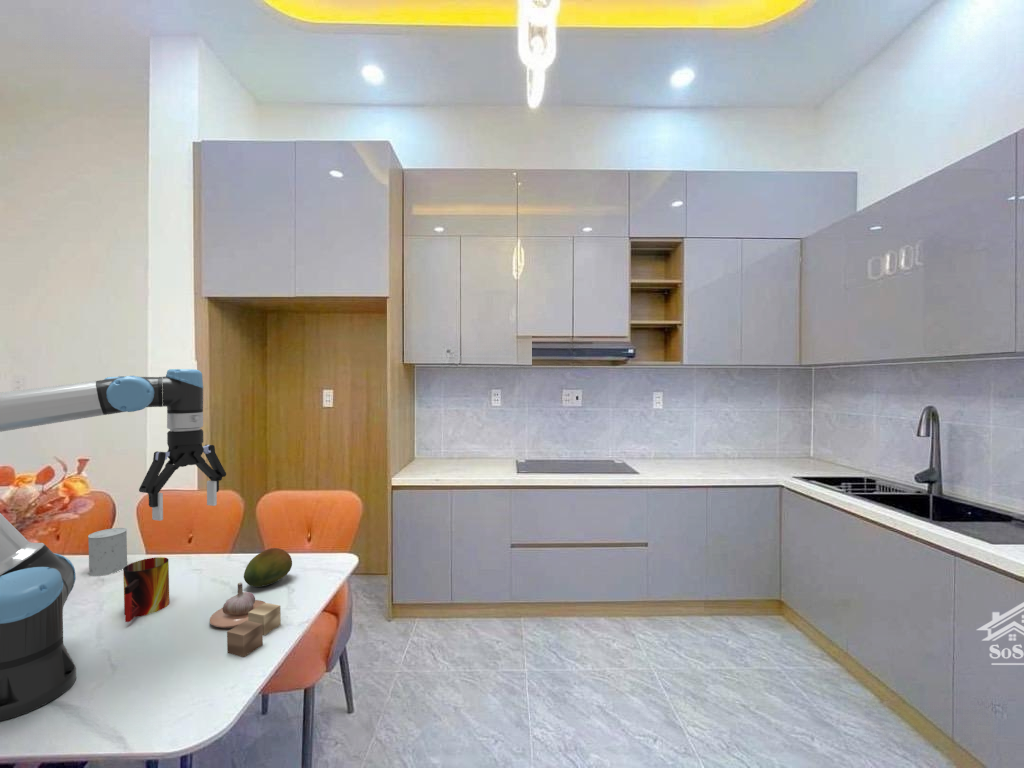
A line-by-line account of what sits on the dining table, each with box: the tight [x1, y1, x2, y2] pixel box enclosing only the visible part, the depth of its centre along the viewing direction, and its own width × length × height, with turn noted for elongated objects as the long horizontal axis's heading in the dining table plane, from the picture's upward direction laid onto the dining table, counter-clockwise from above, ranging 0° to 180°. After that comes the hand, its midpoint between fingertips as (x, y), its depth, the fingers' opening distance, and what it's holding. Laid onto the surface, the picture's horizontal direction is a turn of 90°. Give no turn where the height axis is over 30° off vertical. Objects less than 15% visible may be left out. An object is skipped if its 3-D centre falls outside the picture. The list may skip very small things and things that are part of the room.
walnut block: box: [226, 620, 264, 658], centre depth 105 cm, size 5×5×5 cm
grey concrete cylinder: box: [87, 527, 128, 577], centre depth 149 cm, size 10×10×12 cm
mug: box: [122, 556, 170, 623], centre depth 123 cm, size 10×14×12 cm
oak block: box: [248, 602, 282, 636], centre depth 114 cm, size 5×5×5 cm
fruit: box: [243, 547, 293, 588], centre depth 138 cm, size 12×13×10 cm
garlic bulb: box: [222, 581, 256, 615], centre depth 119 cm, size 8×7×8 cm
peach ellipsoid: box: [209, 599, 266, 629], centre depth 119 cm, size 13×13×1 cm
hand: (186, 512), depth 117 cm, fingers open, 13 cm apart
